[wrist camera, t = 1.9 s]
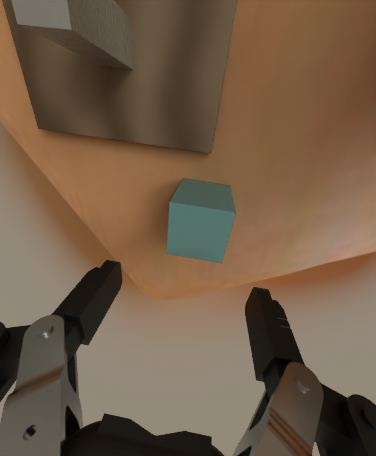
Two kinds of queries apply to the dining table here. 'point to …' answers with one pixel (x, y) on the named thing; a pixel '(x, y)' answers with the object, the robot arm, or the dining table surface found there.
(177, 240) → the aqua rectangular box
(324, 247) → the dining table surface
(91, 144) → the dining table surface
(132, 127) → the post board
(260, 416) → the robot arm
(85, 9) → the post
